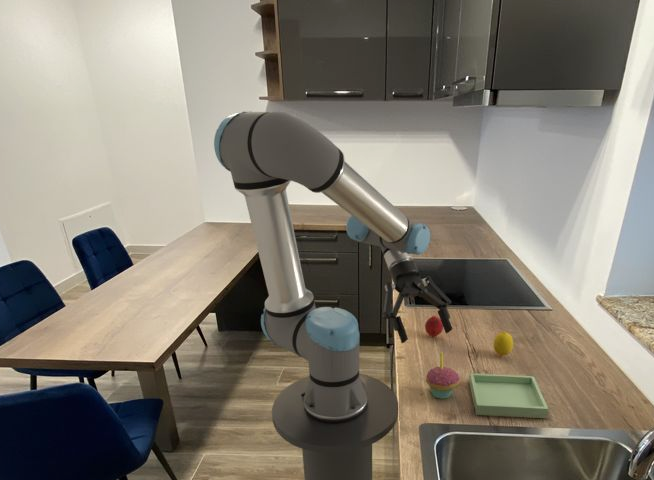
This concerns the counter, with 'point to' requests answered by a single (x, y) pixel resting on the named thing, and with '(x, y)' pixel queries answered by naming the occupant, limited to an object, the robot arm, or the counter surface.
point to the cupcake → (442, 380)
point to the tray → (507, 396)
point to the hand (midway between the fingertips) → (427, 336)
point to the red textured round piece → (434, 326)
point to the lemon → (503, 343)
